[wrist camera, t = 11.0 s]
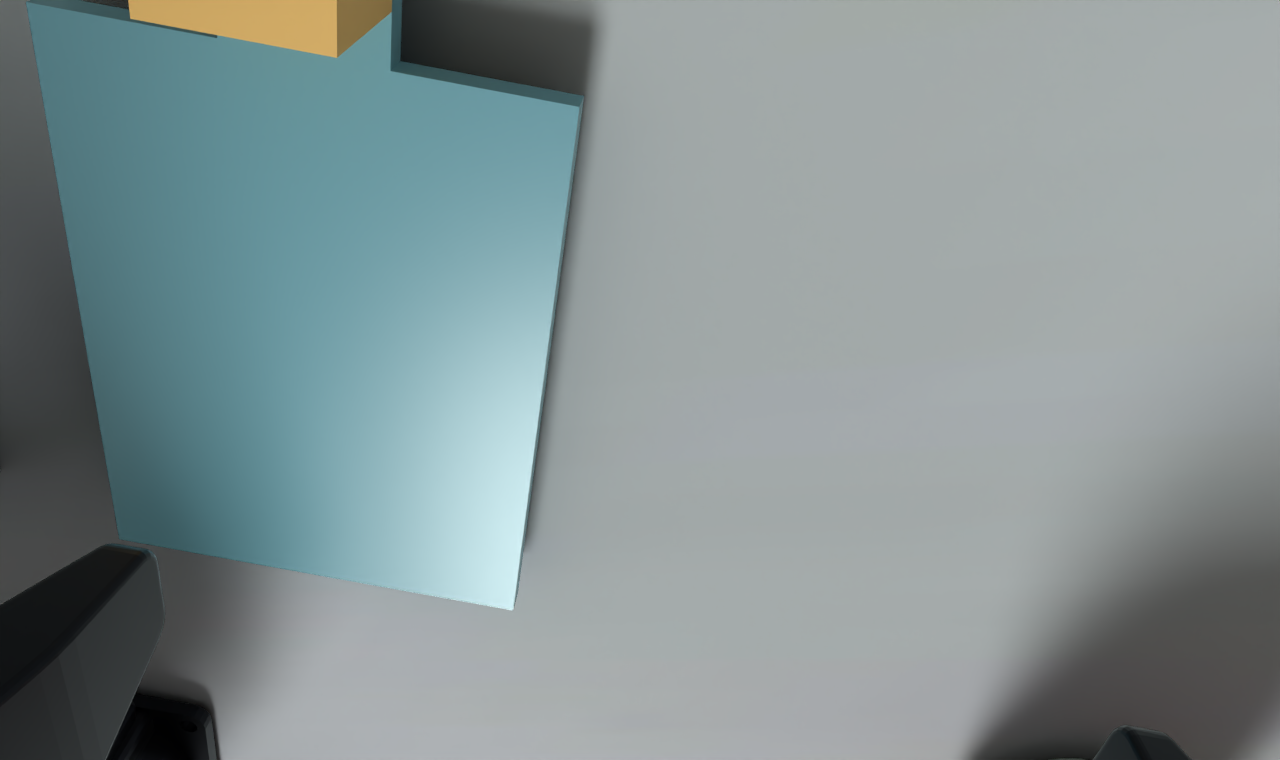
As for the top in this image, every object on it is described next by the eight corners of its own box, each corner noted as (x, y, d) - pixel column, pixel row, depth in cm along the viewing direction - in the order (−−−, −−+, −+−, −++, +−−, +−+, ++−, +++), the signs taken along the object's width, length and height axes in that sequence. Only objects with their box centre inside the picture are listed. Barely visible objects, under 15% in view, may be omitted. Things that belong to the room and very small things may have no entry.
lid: (523, 569, 26) (489, 701, 22) (147, 501, 25) (55, 623, 22) (613, -94, 17) (580, -45, 13) (43, -204, 17) (-136, -183, 13)
